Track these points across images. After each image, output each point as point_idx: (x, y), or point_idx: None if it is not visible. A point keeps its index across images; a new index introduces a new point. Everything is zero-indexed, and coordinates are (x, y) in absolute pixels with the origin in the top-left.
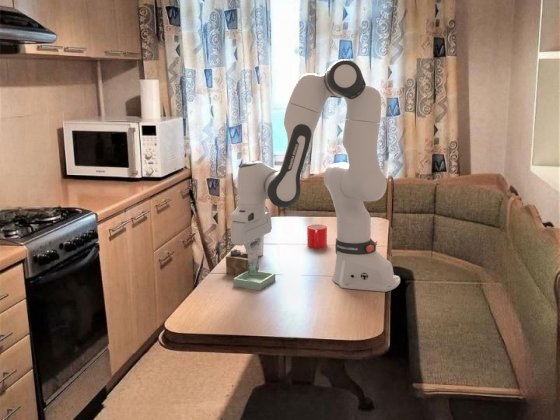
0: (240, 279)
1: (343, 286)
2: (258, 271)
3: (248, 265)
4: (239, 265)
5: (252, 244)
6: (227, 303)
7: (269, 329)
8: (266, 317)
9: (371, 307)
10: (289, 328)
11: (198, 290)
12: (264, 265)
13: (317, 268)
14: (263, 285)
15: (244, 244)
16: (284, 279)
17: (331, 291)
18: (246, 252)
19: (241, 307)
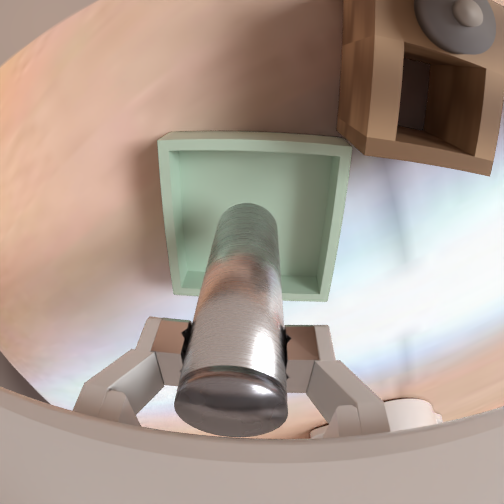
0: (166, 185)
1: (311, 436)
2: (333, 214)
3: (214, 243)
4: (357, 75)
5: (188, 415)
6: (26, 225)
7: (27, 366)
8: (50, 352)
9: None
10: (56, 392)
11: (52, 29)
12: (500, 149)
13: (468, 342)
14: None
15: (89, 392)
16: (346, 303)
17: None
18: (148, 326)
19: (38, 280)
